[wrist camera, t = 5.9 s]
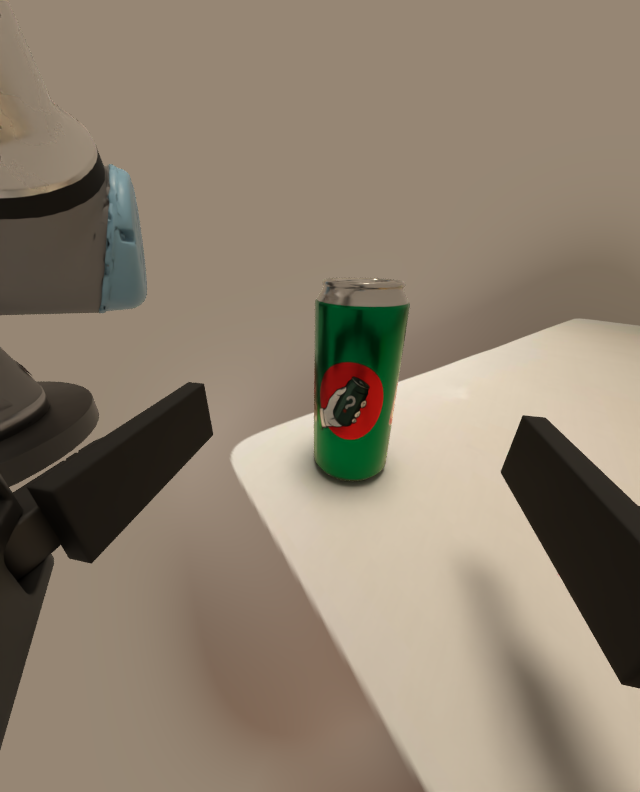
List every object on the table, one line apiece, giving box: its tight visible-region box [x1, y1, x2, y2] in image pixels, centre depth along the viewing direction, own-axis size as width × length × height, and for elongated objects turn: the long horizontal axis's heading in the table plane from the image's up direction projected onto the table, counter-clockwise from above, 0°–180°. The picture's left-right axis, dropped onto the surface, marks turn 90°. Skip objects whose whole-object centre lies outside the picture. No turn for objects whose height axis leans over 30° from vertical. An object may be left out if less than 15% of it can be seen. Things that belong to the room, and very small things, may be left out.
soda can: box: [314, 278, 410, 482], centre depth 17 cm, size 5×5×12 cm
